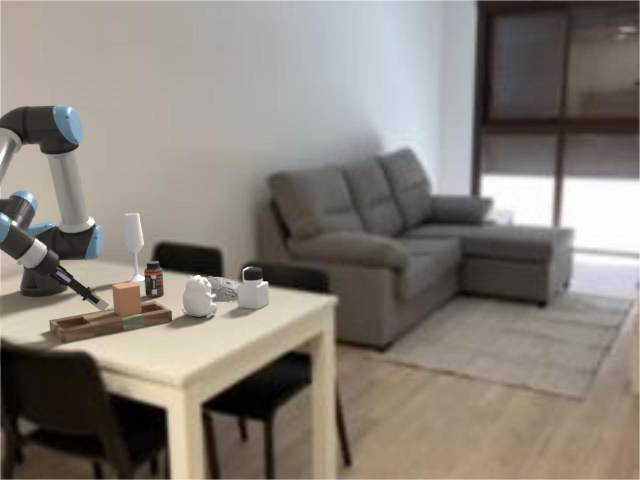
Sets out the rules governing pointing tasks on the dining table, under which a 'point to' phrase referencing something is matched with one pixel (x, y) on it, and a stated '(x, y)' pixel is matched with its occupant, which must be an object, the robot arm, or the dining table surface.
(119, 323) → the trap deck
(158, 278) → the supplement bottle
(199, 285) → the figurine
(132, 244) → the champagne flute
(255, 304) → the medicine bottle
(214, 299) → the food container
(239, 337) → the dining table surface
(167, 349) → the dining table surface
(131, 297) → the block
